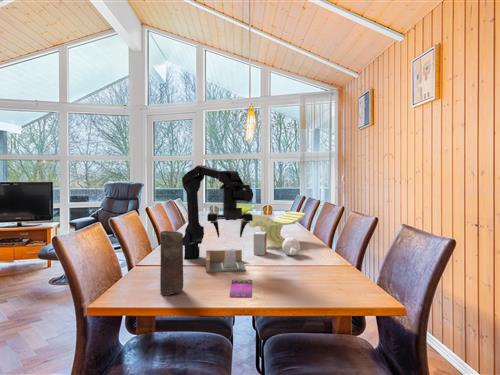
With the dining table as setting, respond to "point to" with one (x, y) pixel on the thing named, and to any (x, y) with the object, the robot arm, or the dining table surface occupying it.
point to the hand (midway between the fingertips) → (229, 237)
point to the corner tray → (222, 261)
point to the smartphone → (241, 288)
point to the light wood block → (230, 259)
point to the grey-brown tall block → (171, 262)
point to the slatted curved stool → (275, 226)
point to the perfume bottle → (291, 246)
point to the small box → (260, 243)
